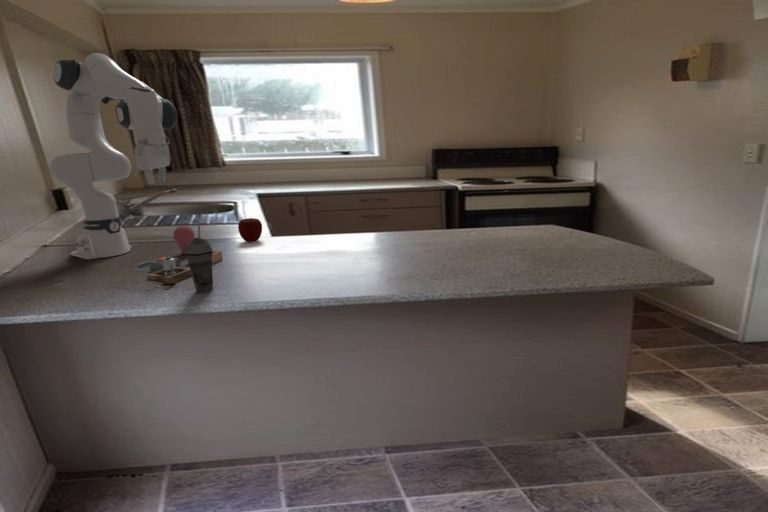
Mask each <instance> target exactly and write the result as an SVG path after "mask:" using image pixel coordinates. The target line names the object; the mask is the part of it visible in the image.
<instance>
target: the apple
mask: <svg viewBox="0 0 768 512" xmlns="http://www.w3.org/2000/svg"><path fill="white" fill-rule="evenodd" d="M237 229H238V233H239V235H240V237H241V239H242V240H244V241H245V242H246V243H255V242H257V241H259V239H260V238H261V237H262V236H261V235H262V233H263V232H262V231H263V224H262V222H261V220H260V219H258V218H255V217H254V218H252V217H250V218H243V219H241V220H239V222H238V224H237Z"/></svg>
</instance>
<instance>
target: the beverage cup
mask: <svg viewBox="0 0 768 512" xmlns="http://www.w3.org/2000/svg"><path fill="white" fill-rule="evenodd" d="M212 248H213V247H212V245H211V243H209V241H207V240H206V239H204V238H202V237H201V223H200V222H197V237H194V239H192V240H190V241H189V242H188V244H187V246H186V250H185V251H186V253H185V254H184V255H185V256H186V260H188V261H189V264H188V265H189V268H190V269H191V273H192V276H191V277H192V280H193V283H194V287H195V290H196V291H195V292H196V293H199V294H203V293H204V294H205V293H209V292H212V291H213V290H214V287H213V285H214V281H213V280H214V278H213V263H212V251H213V249H212ZM188 261H187V262H188Z"/></svg>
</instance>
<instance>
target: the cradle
mask: <svg viewBox="0 0 768 512" xmlns="http://www.w3.org/2000/svg"><path fill="white" fill-rule="evenodd" d="M170 257H171V256H170ZM171 258H173V257H171ZM174 258H175V263H176V267H183V266H186V264H182V263H181V259H180V258H179V257H174ZM158 259H159V258H158ZM158 259H154V260H147V261H144V262H141V263H138V264H137V267H134V268H131V270H132V271H139V272H149V273H154V272H157V271H160V270H163V269H164V268H163V262H159V260H158ZM131 270H130V271H131Z"/></svg>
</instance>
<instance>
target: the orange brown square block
mask: <svg viewBox="0 0 768 512" xmlns="http://www.w3.org/2000/svg"><path fill="white" fill-rule="evenodd" d="M186 260H187V259H186ZM186 262H187V265H189V261H188V260H187V261H186ZM216 262H217V263H216ZM220 263H224V258H223V252H222V251H221V250H212V264H213V266H214V265H217V264H220Z"/></svg>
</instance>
